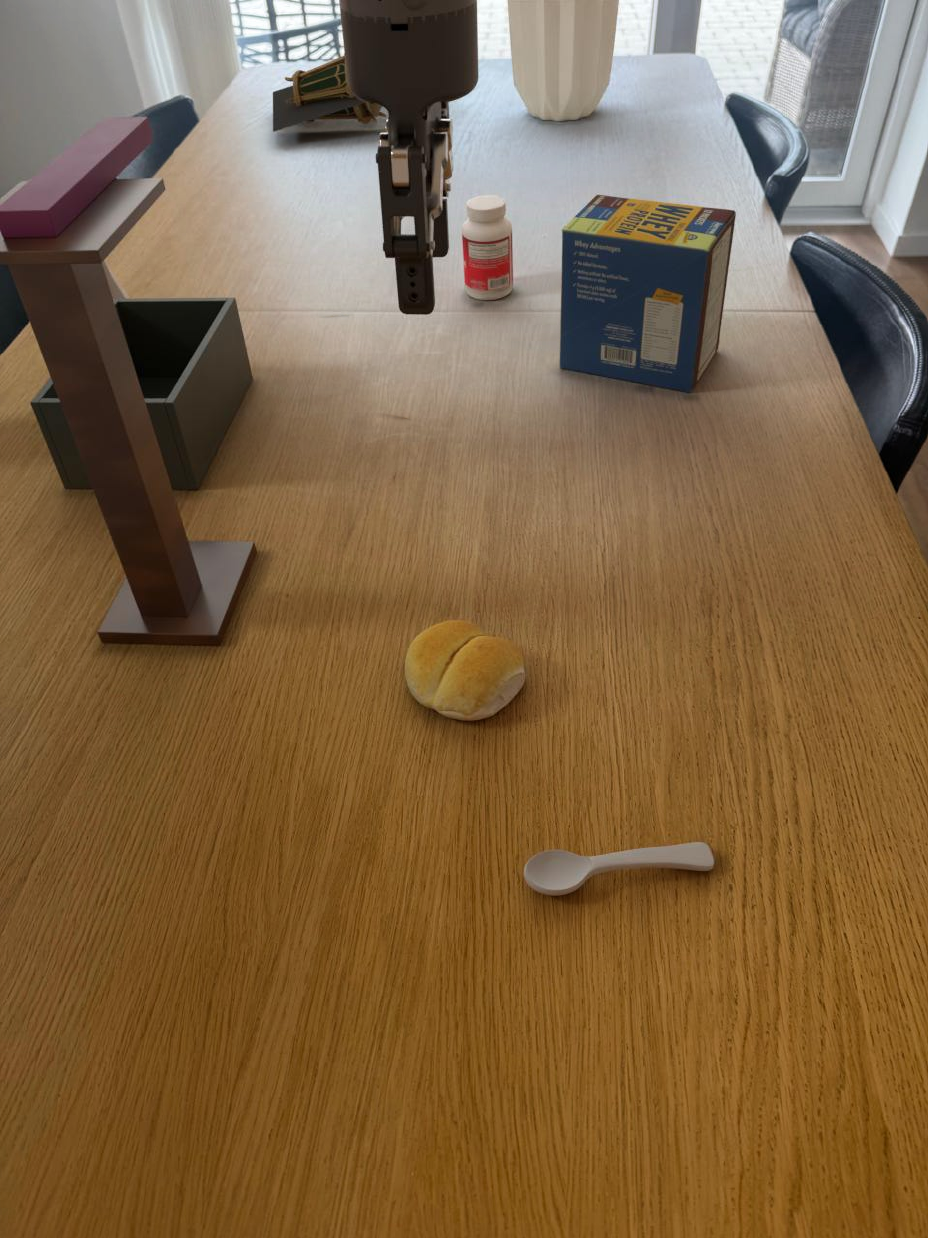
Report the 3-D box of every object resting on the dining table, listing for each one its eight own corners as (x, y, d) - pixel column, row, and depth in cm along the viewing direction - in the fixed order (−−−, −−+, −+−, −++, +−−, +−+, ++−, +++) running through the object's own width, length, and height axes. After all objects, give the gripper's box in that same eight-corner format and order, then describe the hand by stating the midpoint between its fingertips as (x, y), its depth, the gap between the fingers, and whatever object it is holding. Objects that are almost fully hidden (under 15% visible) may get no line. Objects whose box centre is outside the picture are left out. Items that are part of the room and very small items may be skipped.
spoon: (518, 863, 61) (520, 845, 60) (700, 846, 62) (706, 828, 61) (526, 905, 59) (529, 887, 58) (715, 886, 60) (721, 869, 59)
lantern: (289, 129, 190) (432, 70, 186) (294, 181, 174) (450, 118, 171) (257, 58, 180) (408, -6, 176) (260, 106, 164) (424, 38, 161)
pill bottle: (478, 277, 126) (474, 189, 118) (521, 284, 124) (520, 195, 116) (456, 297, 122) (451, 207, 114) (500, 304, 120) (498, 214, 112)
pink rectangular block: (2, 238, 58) (-8, 211, 57) (109, 141, 71) (102, 117, 70) (56, 237, 57) (47, 210, 56) (154, 139, 70) (148, 116, 69)
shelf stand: (101, 642, 78) (-66, 252, 57) (149, 549, 87) (20, 180, 65) (220, 646, 77) (97, 250, 56) (257, 551, 86) (163, 177, 64)
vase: (501, 101, 183) (498, -76, 164) (602, 92, 184) (610, -84, 165) (516, 132, 169) (514, -57, 150) (626, 123, 170) (638, -67, 151)
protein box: (590, 328, 114) (595, 192, 104) (719, 350, 109) (739, 209, 98) (556, 369, 107) (558, 228, 97) (692, 394, 102) (710, 248, 91)
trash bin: (64, 488, 95) (29, 402, 88) (137, 378, 111) (112, 298, 104) (198, 490, 94) (172, 402, 87) (253, 378, 109) (235, 297, 103)
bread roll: (451, 627, 78) (448, 589, 75) (541, 675, 73) (541, 637, 71) (381, 687, 73) (375, 649, 70) (472, 742, 69) (469, 704, 66)
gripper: (361, -31, 58) (385, 238, 69) (313, 27, 48) (350, 332, 59) (486, -33, 57) (490, 239, 68) (464, 25, 47) (473, 334, 58)
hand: (425, 282), depth 64 cm, fingers open, 8 cm apart
